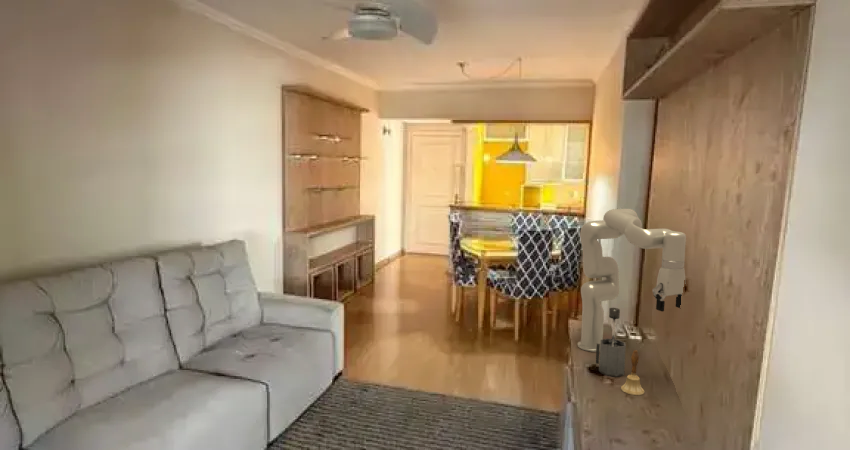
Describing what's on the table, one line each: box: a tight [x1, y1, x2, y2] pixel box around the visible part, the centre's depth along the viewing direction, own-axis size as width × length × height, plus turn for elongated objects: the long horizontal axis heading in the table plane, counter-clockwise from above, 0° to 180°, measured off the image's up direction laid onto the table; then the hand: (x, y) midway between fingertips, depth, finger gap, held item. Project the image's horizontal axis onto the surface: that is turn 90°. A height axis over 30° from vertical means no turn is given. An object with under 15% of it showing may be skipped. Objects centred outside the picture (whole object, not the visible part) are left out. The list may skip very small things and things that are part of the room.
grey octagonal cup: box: [595, 338, 627, 378], centre depth 205 cm, size 10×11×12 cm
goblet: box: [605, 307, 621, 347], centre depth 203 cm, size 7×7×16 cm
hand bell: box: [620, 349, 645, 396], centre depth 188 cm, size 8×8×16 cm
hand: (669, 309), depth 187 cm, fingers open, 9 cm apart
